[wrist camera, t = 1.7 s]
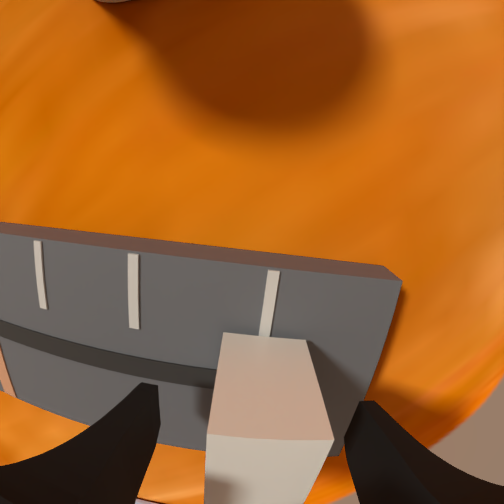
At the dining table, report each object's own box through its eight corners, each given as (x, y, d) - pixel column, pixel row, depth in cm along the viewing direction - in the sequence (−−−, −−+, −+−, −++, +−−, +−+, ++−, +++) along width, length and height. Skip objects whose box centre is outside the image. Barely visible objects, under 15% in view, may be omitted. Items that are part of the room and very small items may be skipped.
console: (331, 431, 15) (338, 457, 13) (-35, 349, 15) (-51, 362, 13) (383, 265, 13) (403, 281, 11) (-59, 215, 12) (-81, 221, 10)
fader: (282, 431, 12) (292, 523, 8) (215, 426, 12) (203, 519, 7) (305, 339, 11) (334, 439, 6) (223, 331, 11) (206, 433, 6)
